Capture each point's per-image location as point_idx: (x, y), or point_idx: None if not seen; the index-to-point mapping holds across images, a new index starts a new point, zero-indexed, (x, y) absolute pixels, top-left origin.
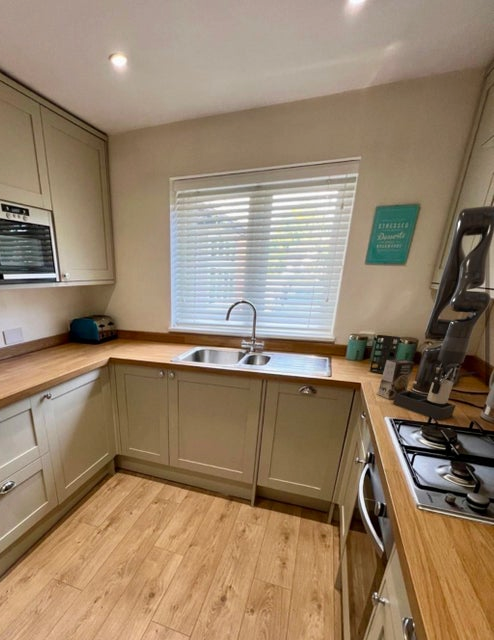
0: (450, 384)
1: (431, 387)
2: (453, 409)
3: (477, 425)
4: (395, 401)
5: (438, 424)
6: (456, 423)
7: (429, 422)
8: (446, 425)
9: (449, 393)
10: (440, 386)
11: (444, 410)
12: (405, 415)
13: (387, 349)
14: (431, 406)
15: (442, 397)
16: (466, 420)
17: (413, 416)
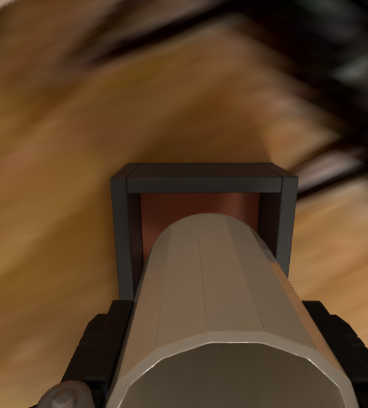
0: (279, 329)
1: (279, 397)
2: (130, 172)
3: (130, 8)
4: None
5: (339, 132)
6: (223, 90)
7: (353, 171)
8: (314, 102)
9: (209, 250)
10: (348, 360)
11: (263, 173)
12: (362, 277)
13: None
14: (289, 245)
15: (264, 252)
16: (111, 86)
17: (338, 253)
